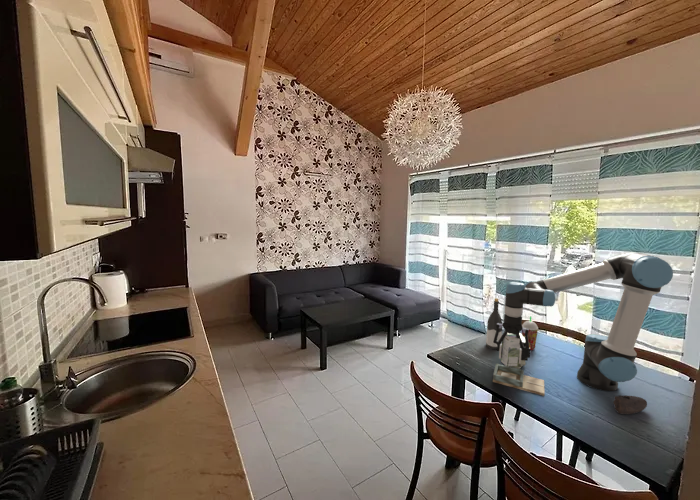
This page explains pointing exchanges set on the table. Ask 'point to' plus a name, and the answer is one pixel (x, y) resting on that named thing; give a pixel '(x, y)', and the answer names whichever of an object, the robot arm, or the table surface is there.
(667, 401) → the table surface
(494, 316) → the wine bottle
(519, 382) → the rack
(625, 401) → the perforated stone tool
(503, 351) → the syrup box
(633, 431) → the table surface
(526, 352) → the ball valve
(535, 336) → the smoothie
